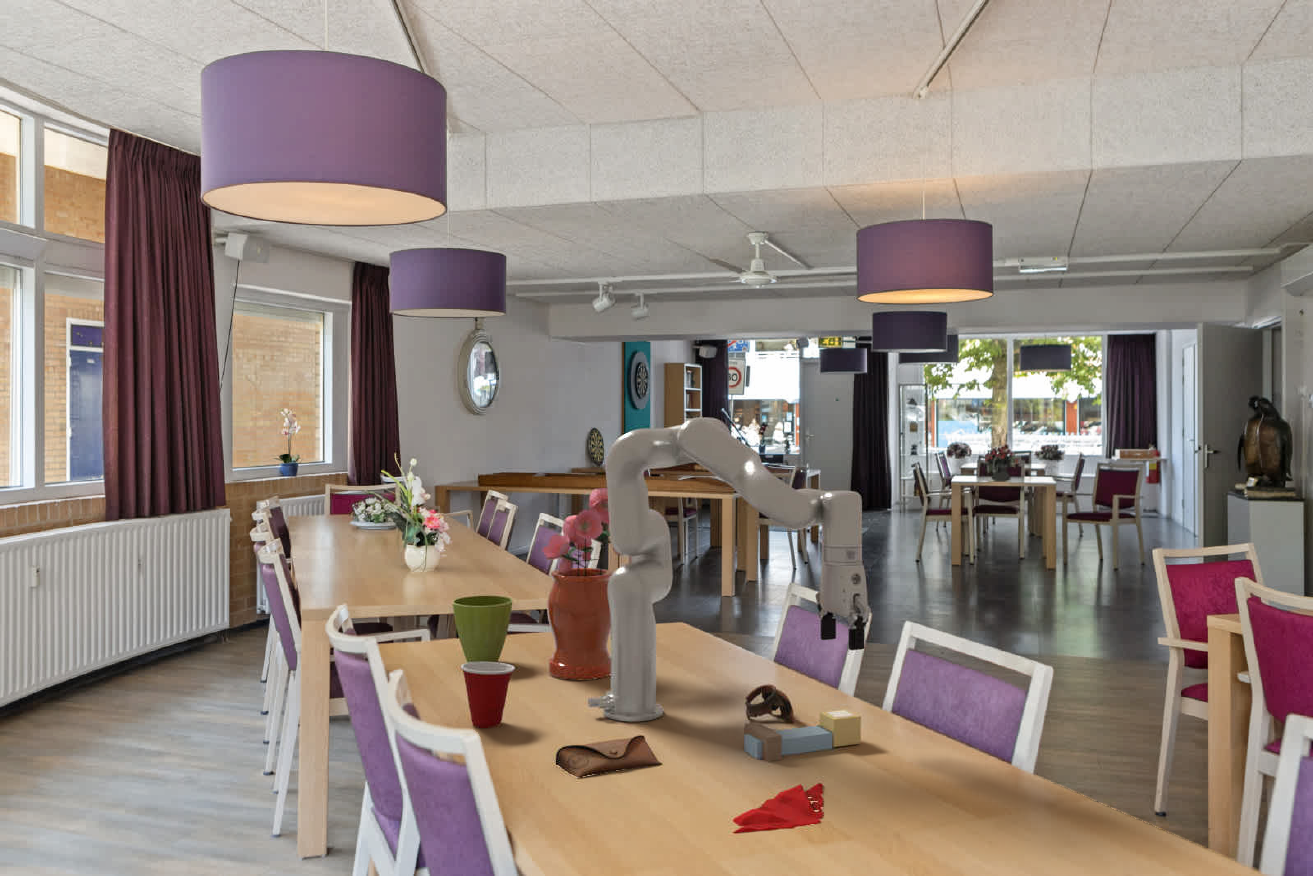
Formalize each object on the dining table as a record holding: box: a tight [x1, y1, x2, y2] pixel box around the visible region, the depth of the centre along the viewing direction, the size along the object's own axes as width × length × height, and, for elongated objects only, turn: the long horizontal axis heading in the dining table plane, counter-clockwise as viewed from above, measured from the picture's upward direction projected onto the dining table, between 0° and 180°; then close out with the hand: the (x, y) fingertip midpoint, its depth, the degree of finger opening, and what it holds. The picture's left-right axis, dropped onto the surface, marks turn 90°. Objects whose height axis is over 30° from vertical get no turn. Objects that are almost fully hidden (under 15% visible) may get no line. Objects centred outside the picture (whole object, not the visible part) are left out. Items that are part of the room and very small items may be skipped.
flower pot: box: [452, 595, 513, 663], centre depth 253 cm, size 15×15×16 cm
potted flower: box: [542, 487, 620, 681], centre depth 245 cm, size 19×25×45 cm
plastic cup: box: [460, 662, 516, 729], centre depth 203 cm, size 11×11×12 cm
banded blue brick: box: [743, 721, 833, 762], centre depth 189 cm, size 16×9×4 cm, turn 112°
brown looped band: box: [744, 683, 796, 724], centre depth 209 cm, size 12×10×8 cm
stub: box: [819, 708, 862, 748], centre depth 193 cm, size 6×5×5 cm
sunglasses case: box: [555, 734, 663, 777], centre depth 180 cm, size 18×7×7 cm, turn 119°
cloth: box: [732, 782, 825, 834], centre depth 159 cm, size 26×14×2 cm, turn 128°
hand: (842, 644), depth 193 cm, fingers open, 9 cm apart
